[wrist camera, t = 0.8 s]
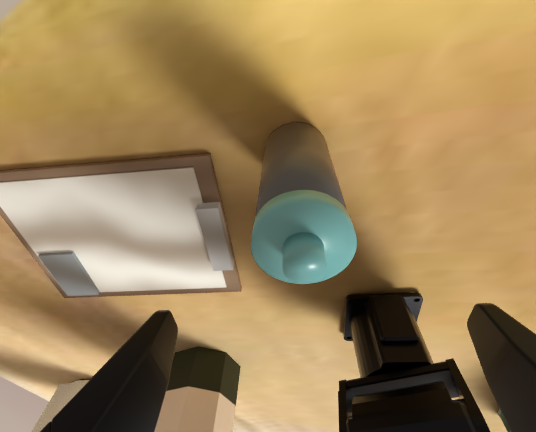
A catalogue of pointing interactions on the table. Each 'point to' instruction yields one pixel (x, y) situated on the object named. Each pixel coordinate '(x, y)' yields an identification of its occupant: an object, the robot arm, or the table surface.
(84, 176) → the clipboard
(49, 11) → the table surface
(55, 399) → the paper towel roll
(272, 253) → the water bottle
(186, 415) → the wine bottle
